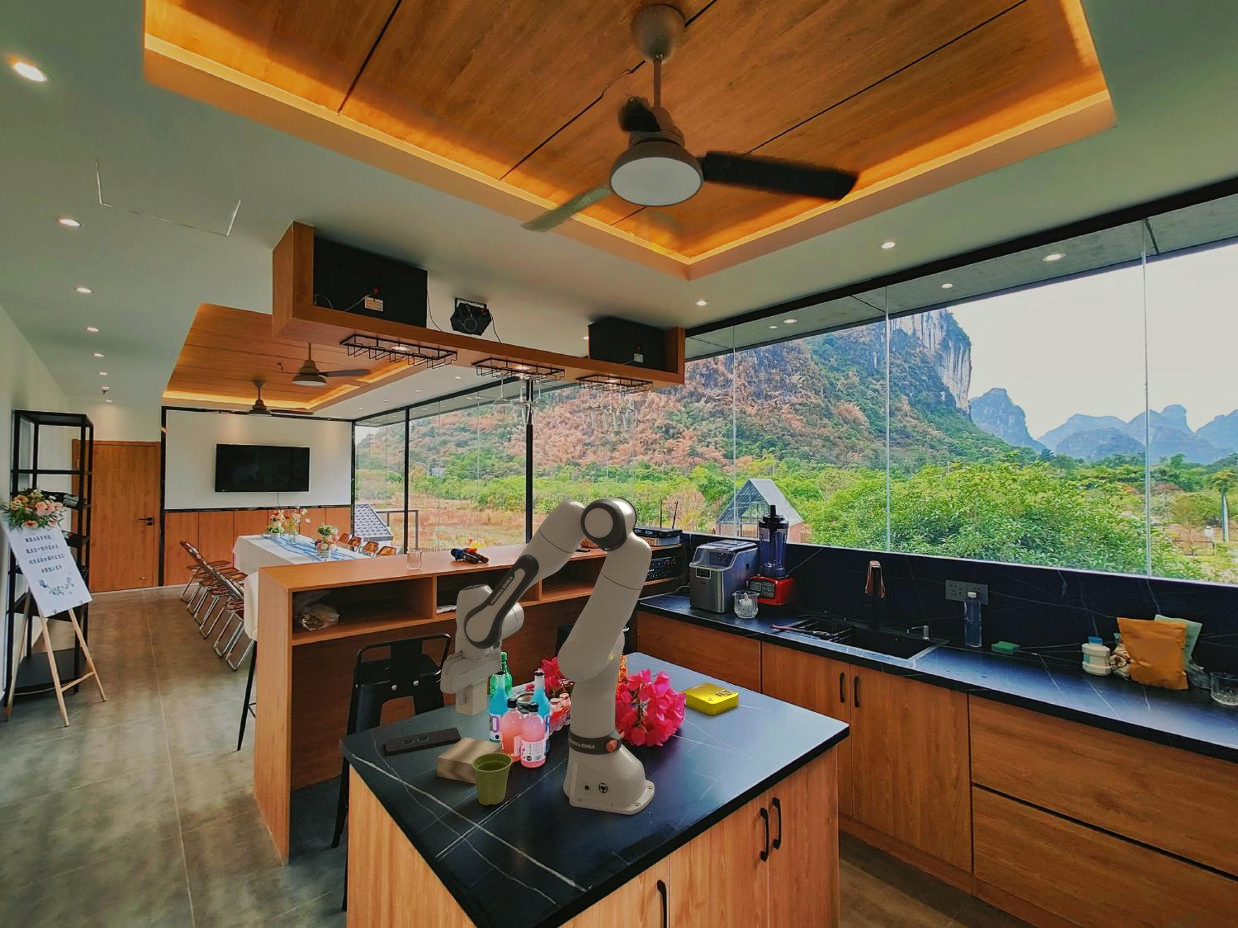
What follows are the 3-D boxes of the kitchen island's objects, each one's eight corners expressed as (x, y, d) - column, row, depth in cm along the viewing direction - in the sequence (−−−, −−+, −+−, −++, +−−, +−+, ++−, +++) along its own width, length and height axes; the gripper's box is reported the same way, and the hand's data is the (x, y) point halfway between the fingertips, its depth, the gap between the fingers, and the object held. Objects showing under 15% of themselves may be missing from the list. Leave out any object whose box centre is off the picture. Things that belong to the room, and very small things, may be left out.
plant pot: (491, 784, 138) (491, 748, 138) (519, 795, 133) (520, 758, 134) (462, 802, 130) (463, 764, 130) (492, 814, 125) (492, 775, 126)
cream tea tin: (487, 707, 148) (488, 677, 148) (472, 716, 142) (473, 684, 143) (470, 703, 150) (470, 673, 151) (454, 711, 145) (455, 680, 145)
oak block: (502, 762, 149) (502, 743, 150) (477, 785, 138) (477, 764, 138) (464, 755, 153) (464, 737, 154) (437, 776, 142) (437, 757, 142)
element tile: (707, 693, 201) (707, 680, 201) (741, 706, 189) (741, 691, 189) (678, 703, 191) (678, 689, 191) (712, 717, 180) (712, 702, 180)
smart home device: (385, 739, 160) (456, 726, 168) (384, 745, 160) (456, 732, 168) (386, 751, 152) (461, 737, 161) (386, 757, 152) (461, 743, 161)
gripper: (454, 658, 136) (453, 716, 136) (505, 638, 155) (504, 689, 154) (434, 655, 139) (433, 711, 139) (487, 635, 158) (486, 685, 157)
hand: (471, 699), depth 147 cm, fingers closed on cream tea tin, 6 cm apart
